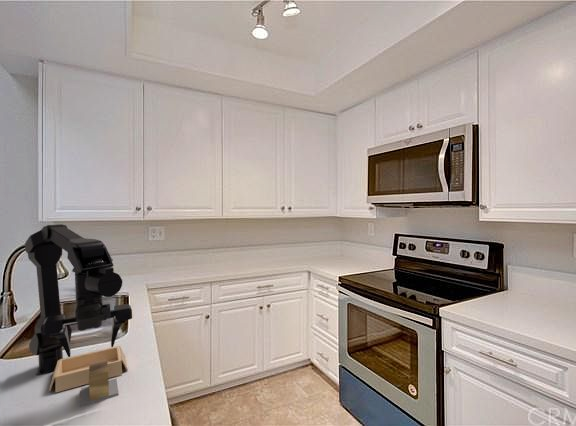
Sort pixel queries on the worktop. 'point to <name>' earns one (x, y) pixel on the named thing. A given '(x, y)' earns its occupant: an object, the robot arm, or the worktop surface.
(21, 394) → the worktop surface
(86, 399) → the mat
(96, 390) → the block
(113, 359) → the carton
